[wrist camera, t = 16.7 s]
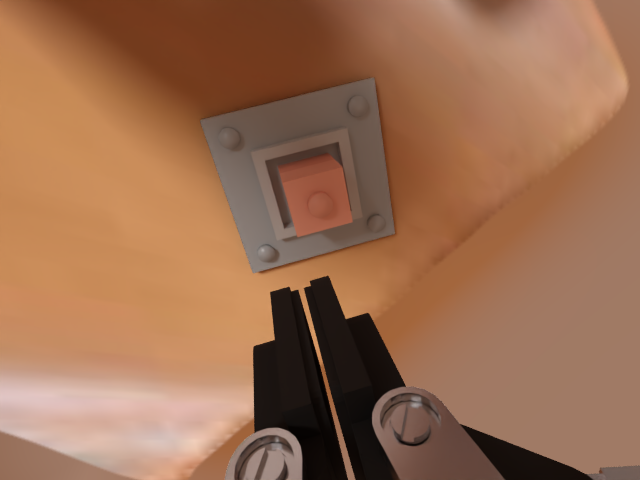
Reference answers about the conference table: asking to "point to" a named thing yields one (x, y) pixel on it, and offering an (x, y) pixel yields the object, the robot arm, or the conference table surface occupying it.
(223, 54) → the conference table surface
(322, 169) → the pink knobbed block
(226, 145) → the baseplate
